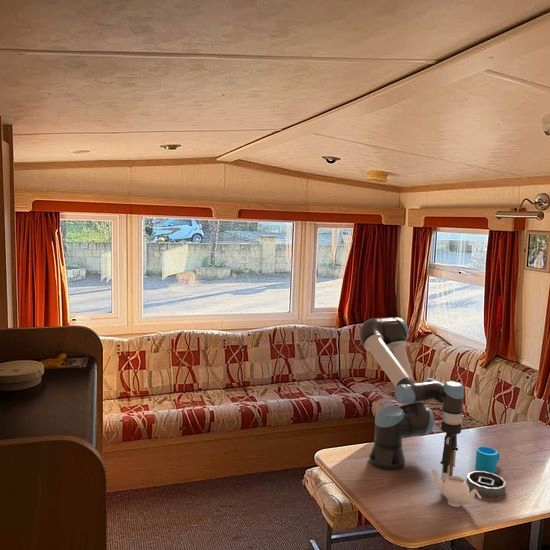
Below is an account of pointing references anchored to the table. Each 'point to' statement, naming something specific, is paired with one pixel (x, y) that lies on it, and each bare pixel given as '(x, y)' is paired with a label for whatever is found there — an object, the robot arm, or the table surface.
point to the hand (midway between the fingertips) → (448, 472)
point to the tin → (486, 483)
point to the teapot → (455, 490)
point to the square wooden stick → (451, 464)
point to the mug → (486, 459)
